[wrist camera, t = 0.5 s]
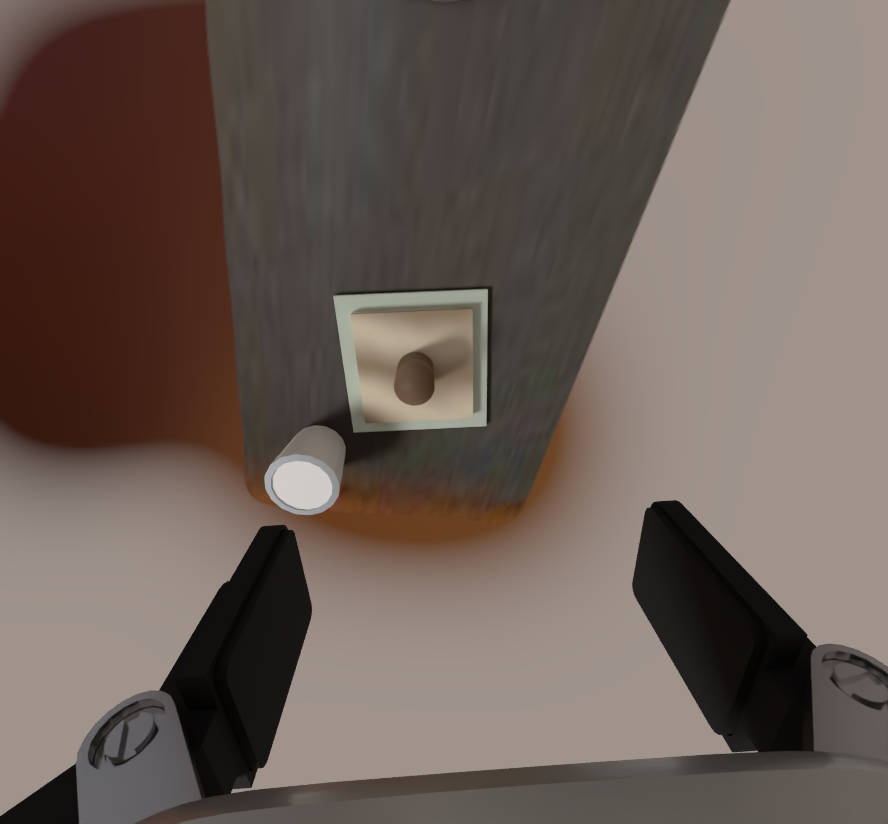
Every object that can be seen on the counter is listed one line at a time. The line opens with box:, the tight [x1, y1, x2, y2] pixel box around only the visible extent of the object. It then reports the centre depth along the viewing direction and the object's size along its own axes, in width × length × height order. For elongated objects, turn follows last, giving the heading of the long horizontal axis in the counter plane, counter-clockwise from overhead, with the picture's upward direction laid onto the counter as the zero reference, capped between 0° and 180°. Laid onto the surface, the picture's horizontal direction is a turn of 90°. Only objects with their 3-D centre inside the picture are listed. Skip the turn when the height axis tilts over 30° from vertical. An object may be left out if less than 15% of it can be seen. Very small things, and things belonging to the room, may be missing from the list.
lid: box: [350, 307, 473, 423], centre depth 37 cm, size 11×11×6 cm
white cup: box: [265, 425, 346, 515], centre depth 41 cm, size 7×7×7 cm
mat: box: [333, 289, 488, 433], centre depth 40 cm, size 14×14×1 cm
